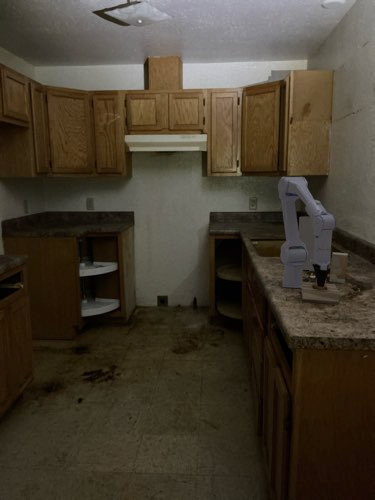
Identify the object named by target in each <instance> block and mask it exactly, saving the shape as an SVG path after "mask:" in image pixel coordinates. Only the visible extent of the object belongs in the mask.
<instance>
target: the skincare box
mask: <svg viewBox="0 0 375 500" xmlns="http://www.w3.org/2000/svg"><path fill="white" fill-rule="evenodd" d="M331 255H332V256H331V263H330V269H331V270H330V272H329V282H332V283H340V284H345V283H346V276H347V267H348V258H349V253H346V252H345V253H344V252H333V251H332V253H331Z"/></svg>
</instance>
